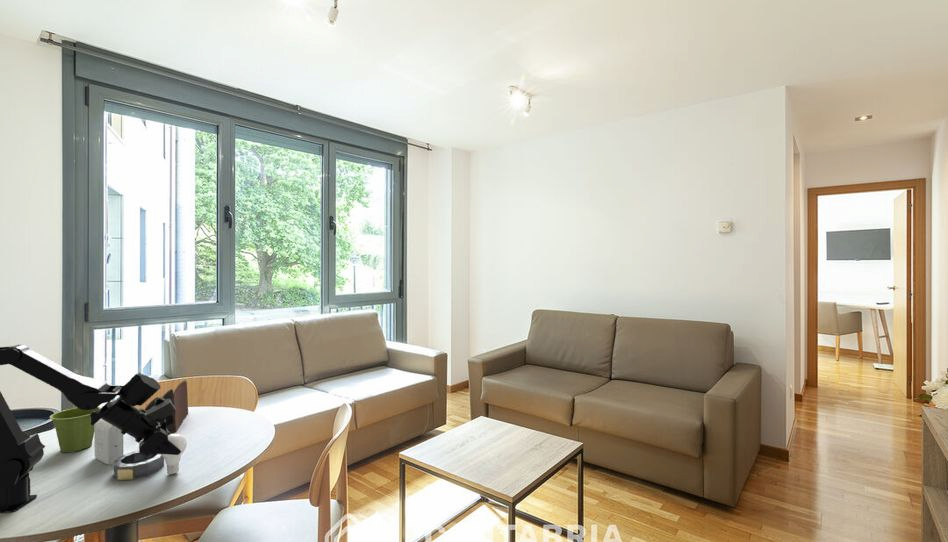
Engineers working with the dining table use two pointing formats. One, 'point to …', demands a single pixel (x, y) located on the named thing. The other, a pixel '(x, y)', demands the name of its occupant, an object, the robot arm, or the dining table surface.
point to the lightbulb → (174, 460)
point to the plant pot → (74, 429)
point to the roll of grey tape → (137, 465)
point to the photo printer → (107, 442)
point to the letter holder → (180, 404)
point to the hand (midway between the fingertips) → (178, 448)
